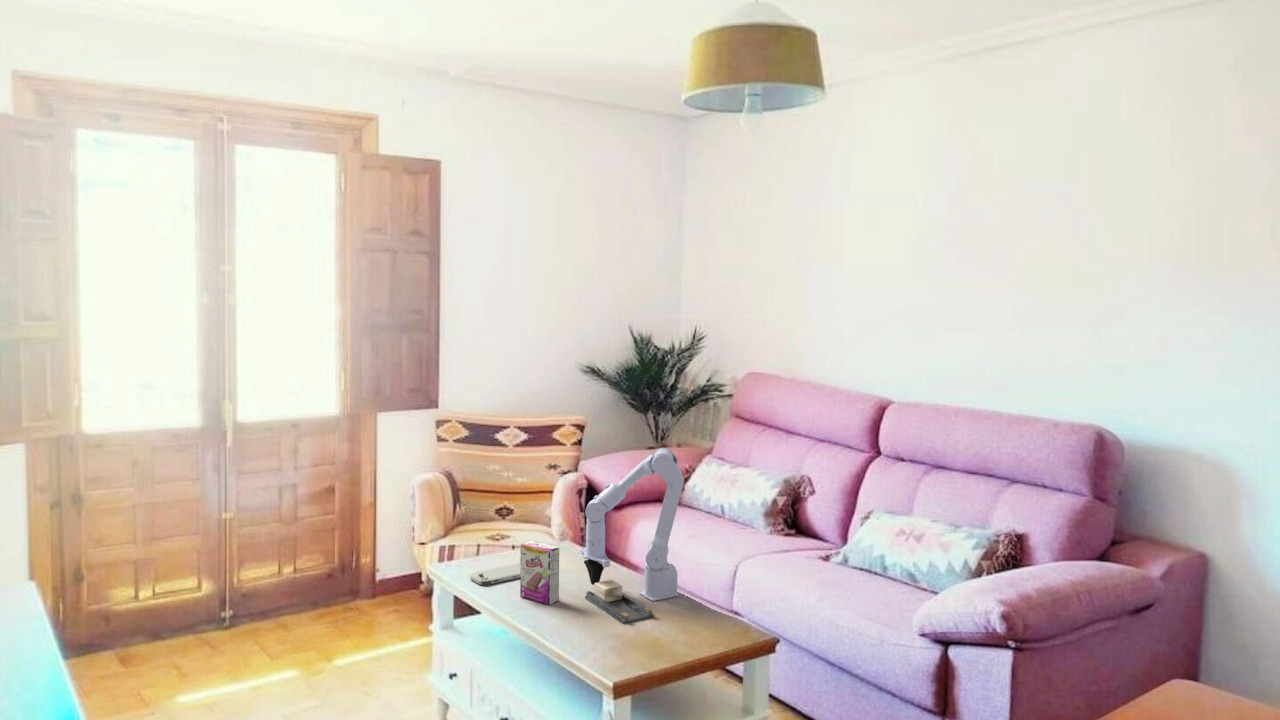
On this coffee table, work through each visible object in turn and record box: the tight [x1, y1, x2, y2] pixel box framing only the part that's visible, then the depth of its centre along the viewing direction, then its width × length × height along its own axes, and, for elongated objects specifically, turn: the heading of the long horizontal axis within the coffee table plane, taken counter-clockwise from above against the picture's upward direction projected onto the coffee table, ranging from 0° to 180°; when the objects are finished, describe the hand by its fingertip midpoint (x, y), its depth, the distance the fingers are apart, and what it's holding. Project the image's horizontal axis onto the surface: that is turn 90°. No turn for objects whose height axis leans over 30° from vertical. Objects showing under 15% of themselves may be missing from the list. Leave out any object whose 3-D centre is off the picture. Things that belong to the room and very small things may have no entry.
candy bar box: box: [519, 540, 560, 606], centre depth 264 cm, size 11×5×16 cm, turn 58°
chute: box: [584, 590, 655, 625], centre depth 259 cm, size 10×22×2 cm, turn 32°
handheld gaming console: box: [470, 562, 521, 587], centre depth 285 cm, size 23×3×10 cm
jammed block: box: [593, 579, 623, 602], centre depth 264 cm, size 6×6×4 cm
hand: (594, 583), depth 271 cm, fingers closed
